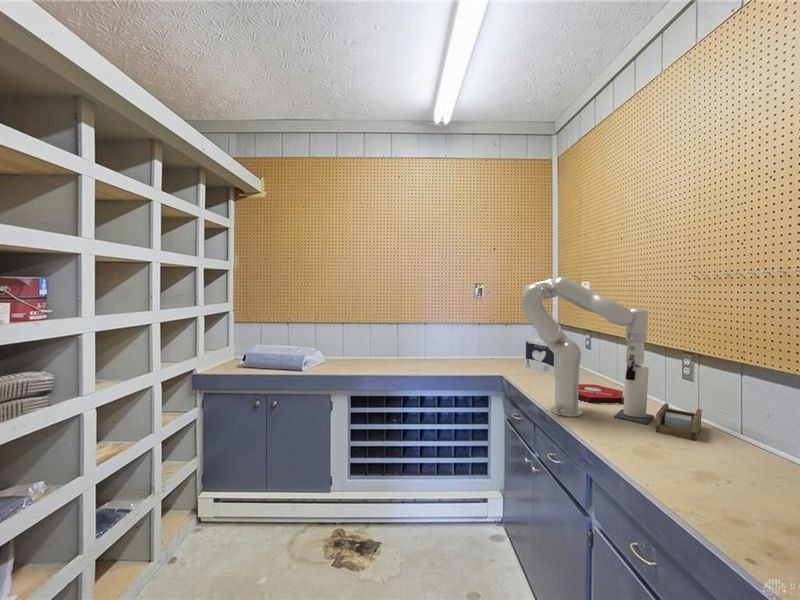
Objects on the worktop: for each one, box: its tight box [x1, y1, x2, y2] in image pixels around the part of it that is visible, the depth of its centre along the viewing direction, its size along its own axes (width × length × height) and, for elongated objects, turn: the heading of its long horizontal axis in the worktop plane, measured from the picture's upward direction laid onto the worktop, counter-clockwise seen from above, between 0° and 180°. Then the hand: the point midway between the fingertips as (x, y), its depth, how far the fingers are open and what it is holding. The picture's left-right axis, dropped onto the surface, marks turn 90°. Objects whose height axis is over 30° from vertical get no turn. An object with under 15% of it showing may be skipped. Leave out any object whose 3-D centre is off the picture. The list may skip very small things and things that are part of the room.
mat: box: [613, 408, 655, 426], centre depth 163 cm, size 14×12×1 cm
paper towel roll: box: [623, 363, 649, 417], centre depth 162 cm, size 7×6×21 cm
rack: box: [655, 402, 702, 442], centre depth 149 cm, size 20×12×7 cm, turn 137°
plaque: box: [578, 383, 624, 405], centre depth 195 cm, size 27×4×30 cm
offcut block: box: [665, 412, 692, 431], centre depth 147 cm, size 6×8×6 cm
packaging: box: [524, 337, 557, 377], centre depth 258 cm, size 30×6×20 cm, turn 18°
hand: (632, 378), depth 163 cm, fingers open, 9 cm apart
